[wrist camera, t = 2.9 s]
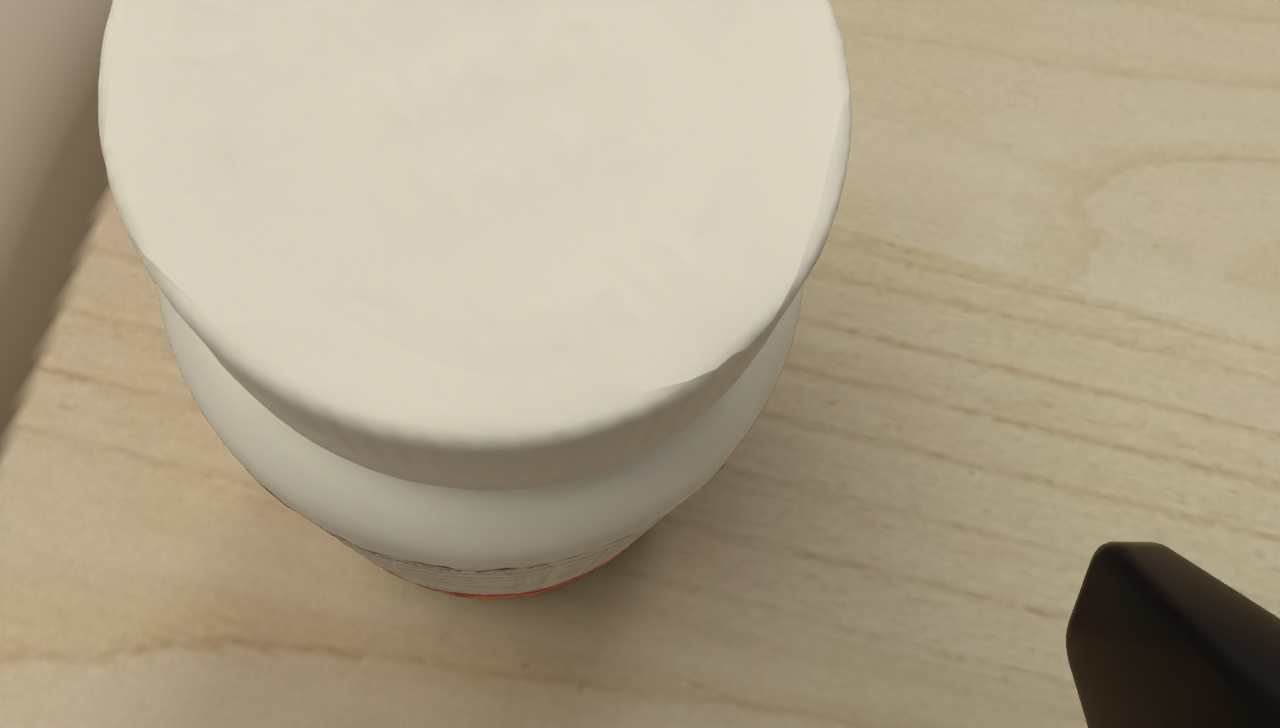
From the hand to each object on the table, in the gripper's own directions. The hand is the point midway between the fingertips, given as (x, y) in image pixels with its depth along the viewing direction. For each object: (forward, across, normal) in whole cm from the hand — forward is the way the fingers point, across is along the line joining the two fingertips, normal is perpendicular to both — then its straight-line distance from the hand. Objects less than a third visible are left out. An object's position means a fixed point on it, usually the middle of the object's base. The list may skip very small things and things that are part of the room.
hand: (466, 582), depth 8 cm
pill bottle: (+10, 0, +5) cm, 11 cm away
